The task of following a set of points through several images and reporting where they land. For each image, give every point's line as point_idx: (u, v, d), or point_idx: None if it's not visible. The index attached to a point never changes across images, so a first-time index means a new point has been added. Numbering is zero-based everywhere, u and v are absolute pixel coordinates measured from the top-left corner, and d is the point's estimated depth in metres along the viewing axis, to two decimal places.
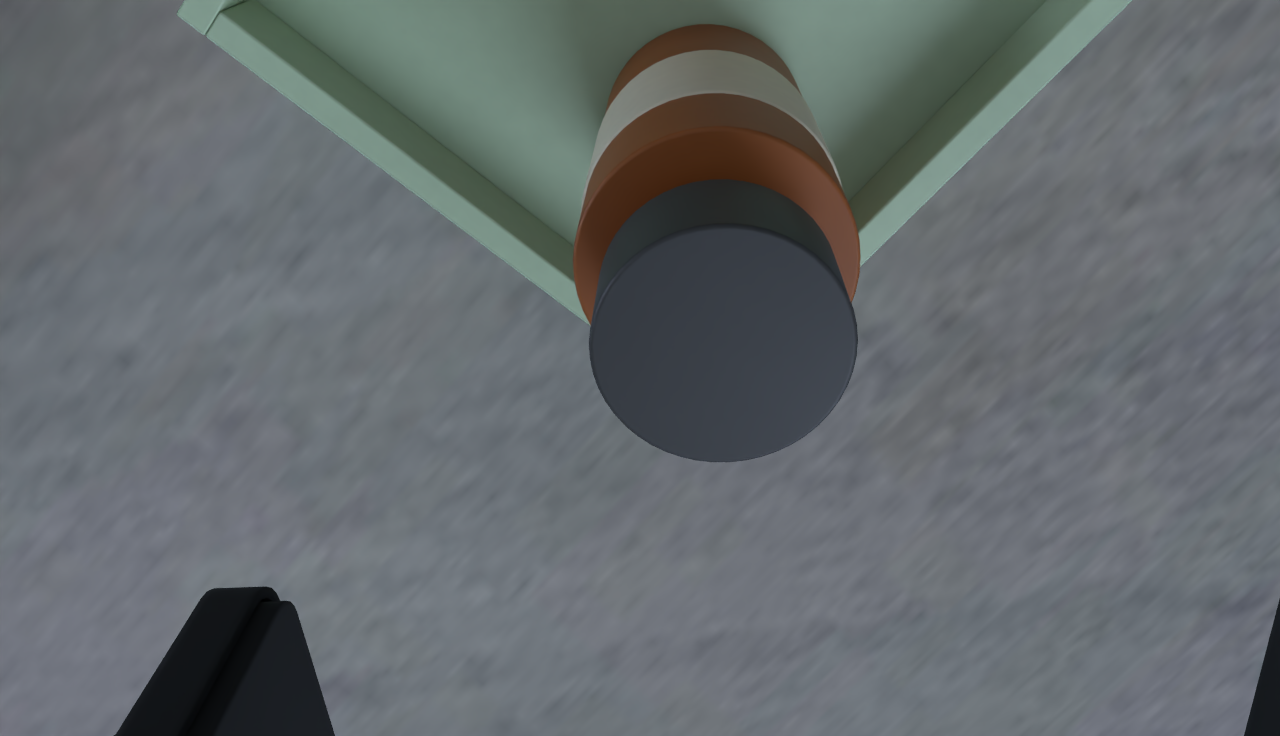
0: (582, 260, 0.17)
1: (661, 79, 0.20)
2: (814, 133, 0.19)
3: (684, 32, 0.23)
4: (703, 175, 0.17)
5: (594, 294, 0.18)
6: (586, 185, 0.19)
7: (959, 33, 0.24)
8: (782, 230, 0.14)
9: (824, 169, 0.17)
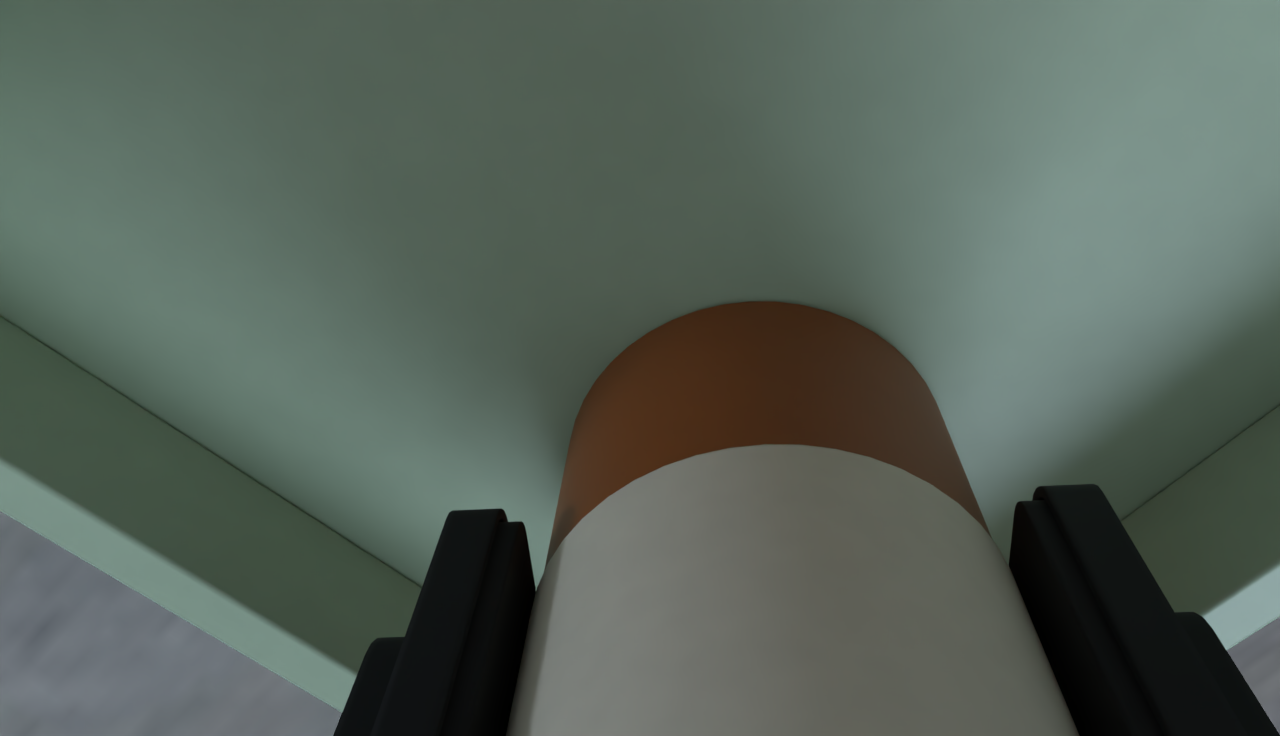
0: None
1: (676, 587, 0.08)
2: None
3: (724, 333, 0.12)
4: None
5: None
6: None
7: (1271, 326, 0.12)
8: None
9: None
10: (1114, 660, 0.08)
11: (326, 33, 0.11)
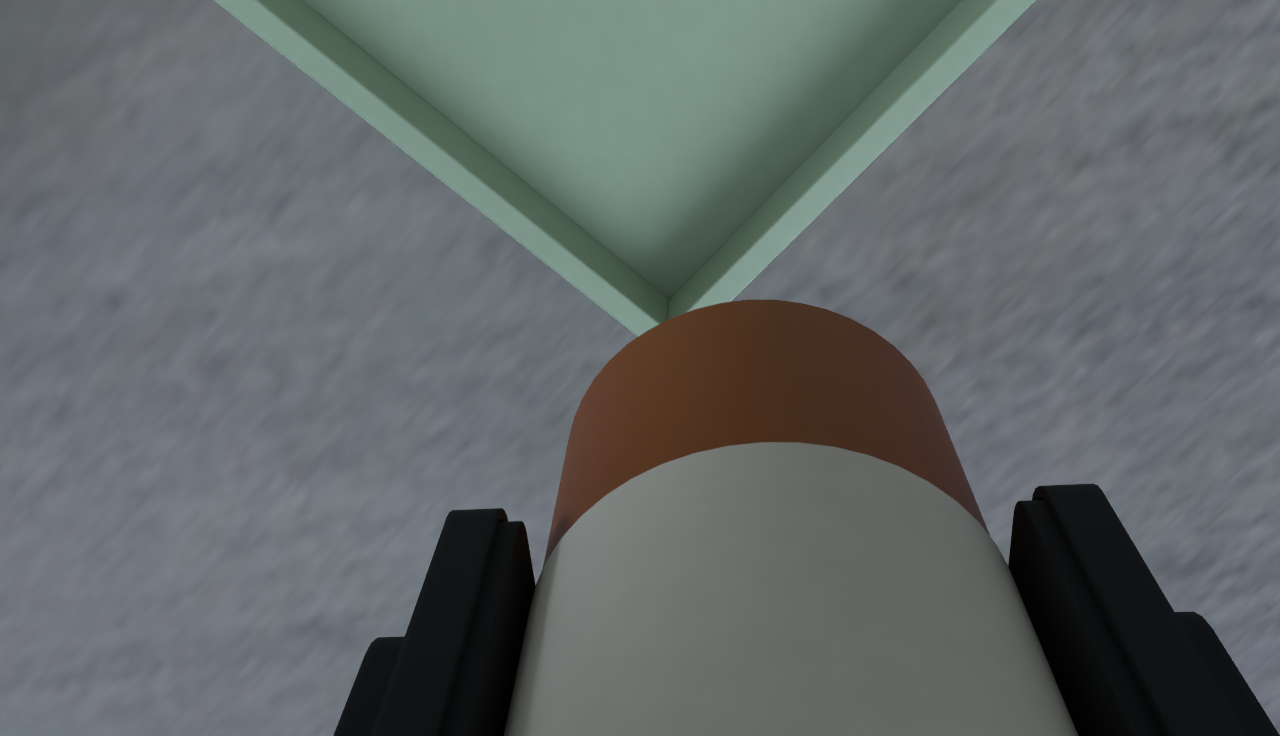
0: None
1: (674, 584, 0.08)
2: None
3: (722, 332, 0.12)
4: None
5: None
6: None
7: None
8: None
9: None
10: (1114, 660, 0.08)
11: None
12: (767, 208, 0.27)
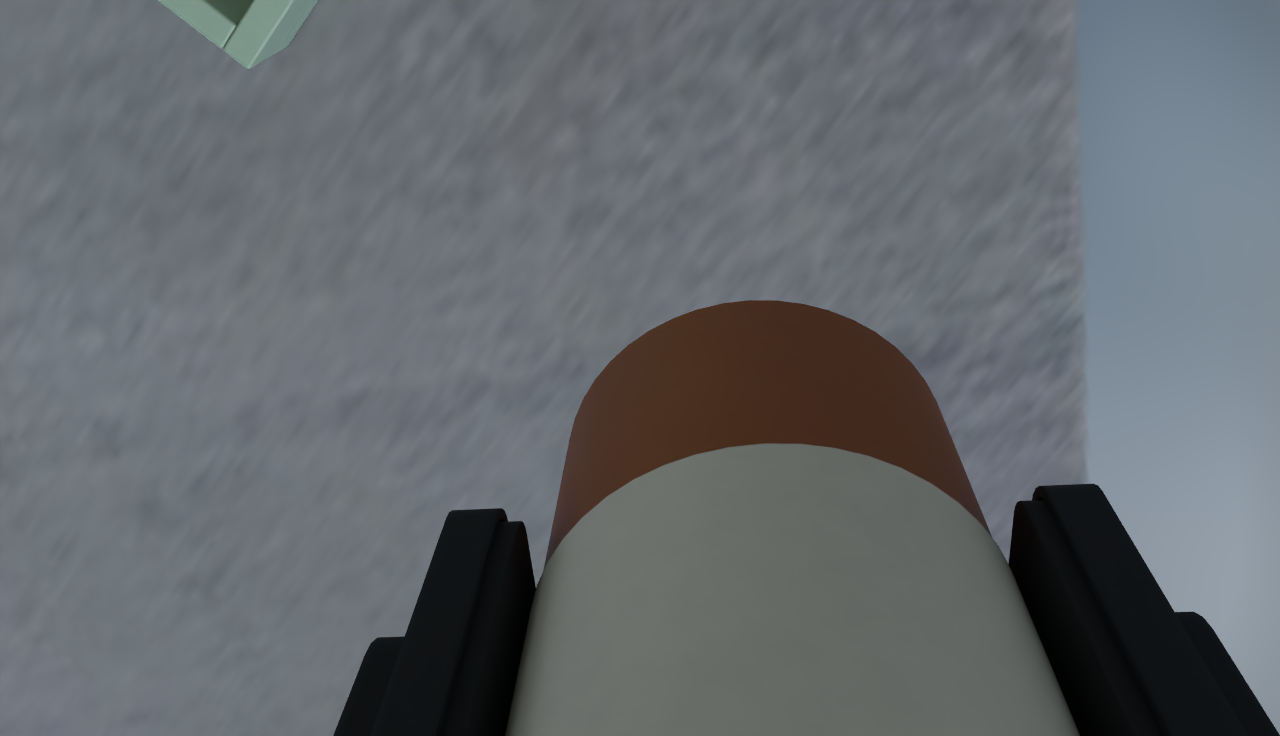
0: None
1: (676, 587, 0.08)
2: None
3: (723, 332, 0.12)
4: None
5: None
6: None
7: None
8: None
9: None
10: (1114, 660, 0.08)
11: None
12: None
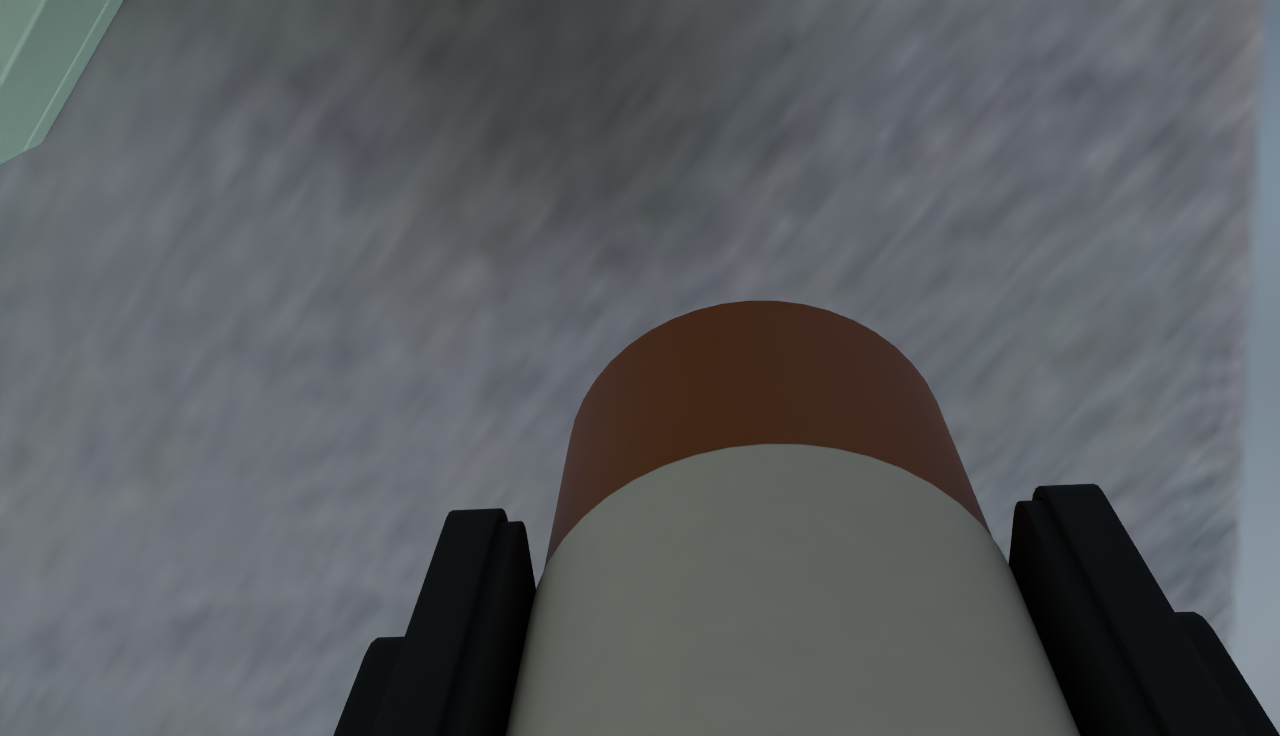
0: None
1: (676, 587, 0.08)
2: None
3: (724, 333, 0.12)
4: None
5: None
6: None
7: None
8: None
9: None
10: (1114, 660, 0.08)
11: None
12: None
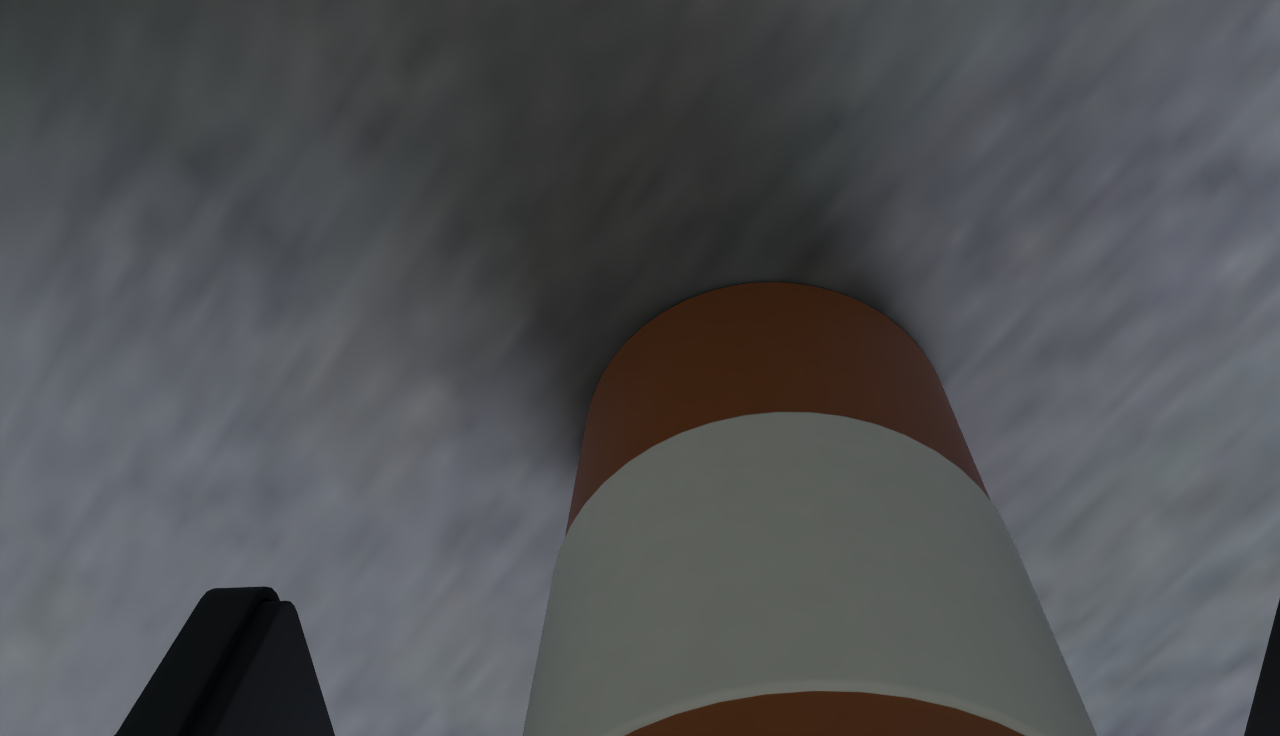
0: None
1: (695, 540, 0.08)
2: None
3: (736, 311, 0.12)
4: None
5: None
6: None
7: None
8: None
9: None
10: None
11: None
12: None
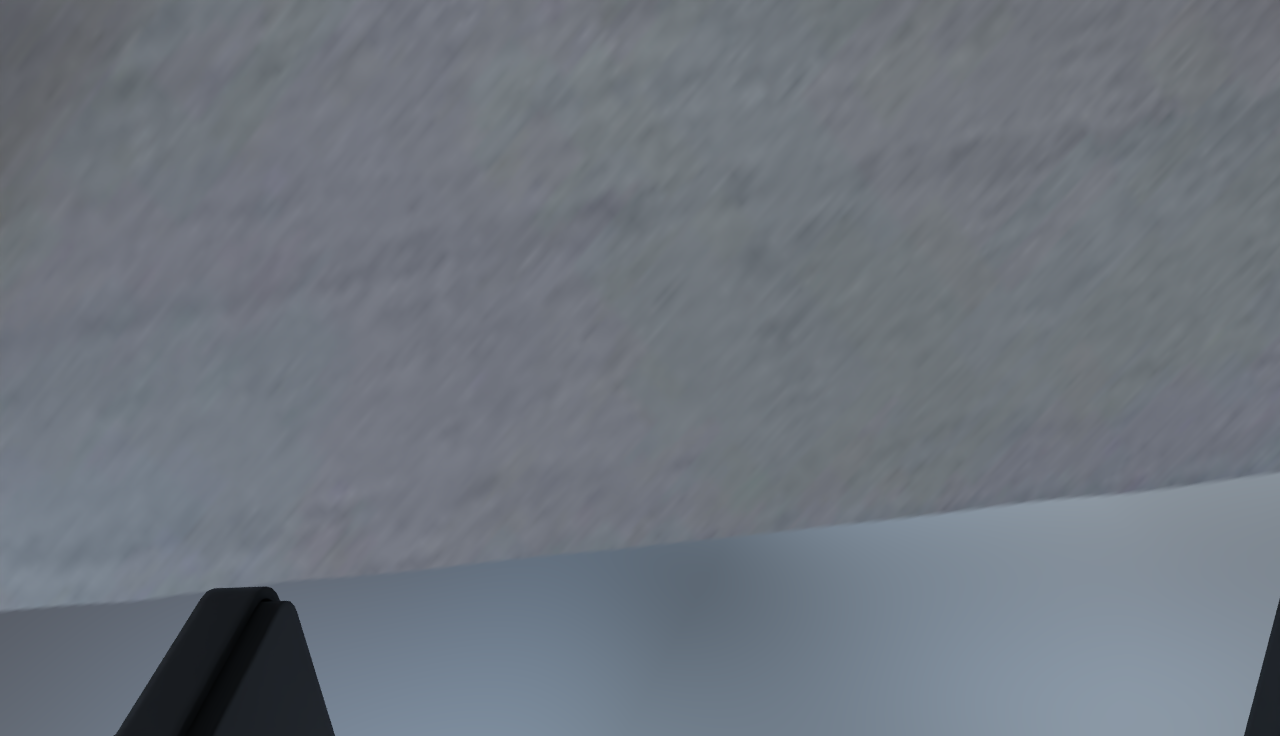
0: None
1: None
2: None
3: None
4: None
5: None
6: None
7: None
8: None
9: None
10: None
11: None
12: None
